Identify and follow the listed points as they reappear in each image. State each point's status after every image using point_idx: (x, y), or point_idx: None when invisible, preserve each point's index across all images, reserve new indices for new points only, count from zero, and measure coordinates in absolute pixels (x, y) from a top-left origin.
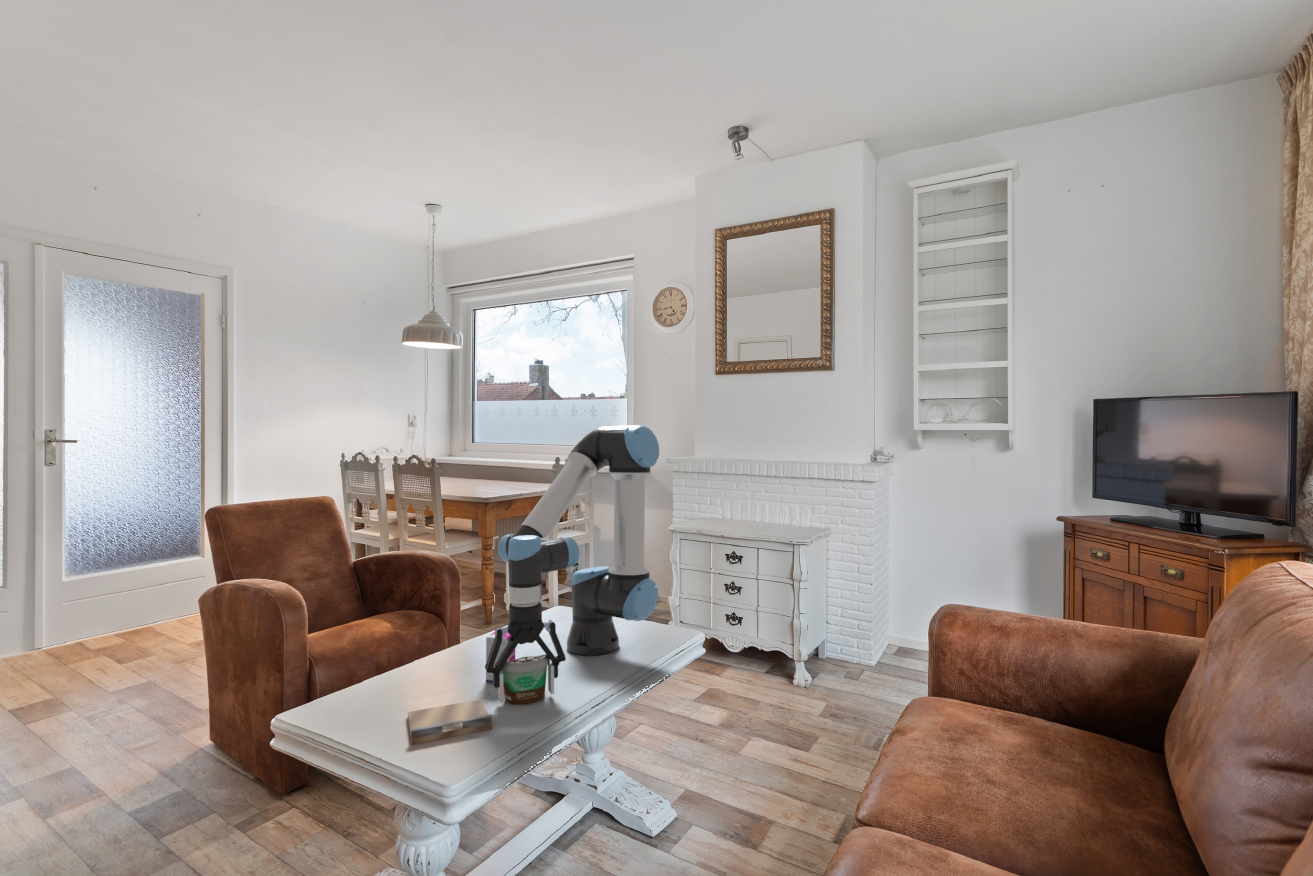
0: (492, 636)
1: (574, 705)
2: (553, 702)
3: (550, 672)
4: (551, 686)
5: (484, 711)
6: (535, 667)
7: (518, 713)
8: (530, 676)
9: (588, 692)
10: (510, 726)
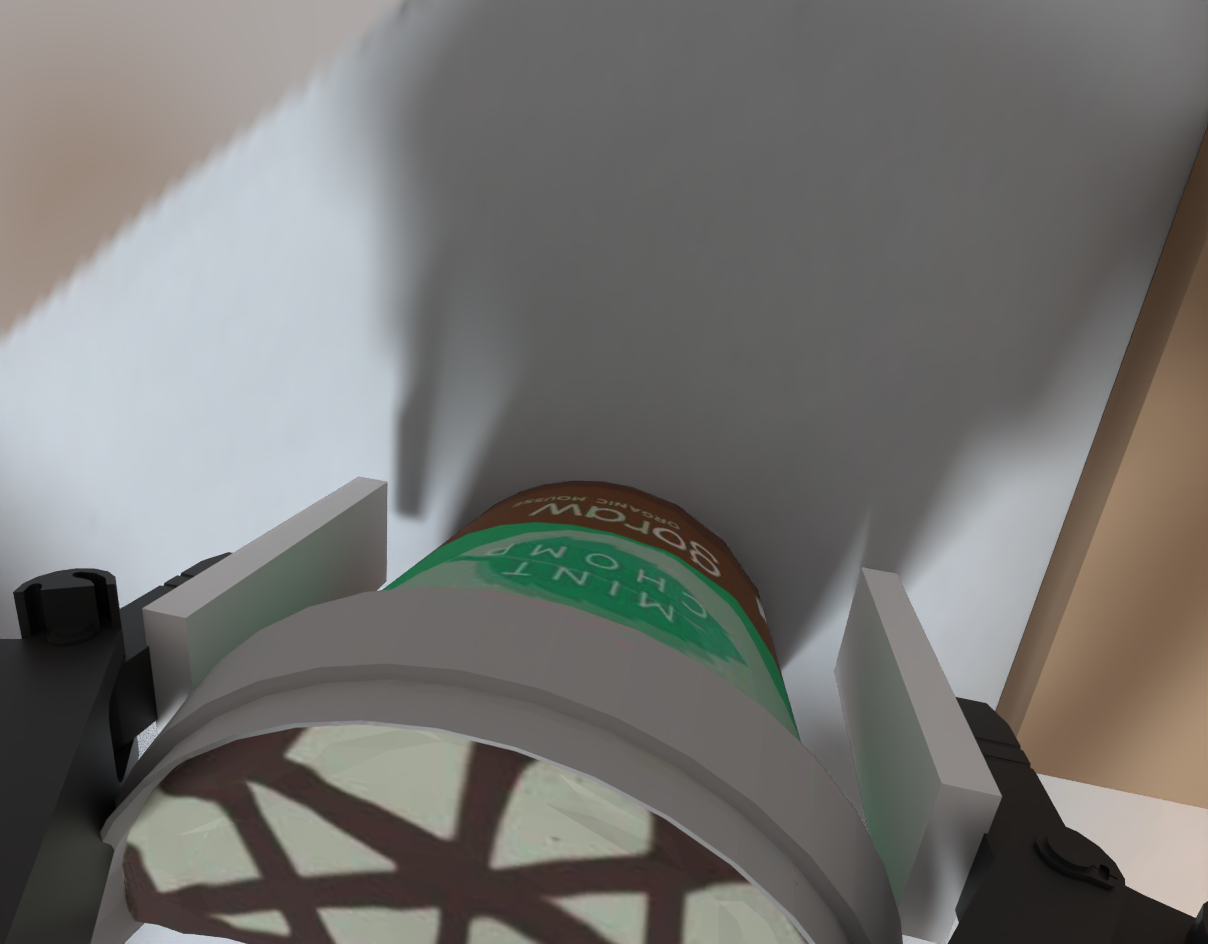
0: None
1: (257, 213)
2: (410, 393)
3: (251, 592)
4: (343, 506)
5: (1145, 476)
6: (403, 618)
7: (781, 346)
8: (529, 591)
9: (95, 415)
10: (999, 60)
